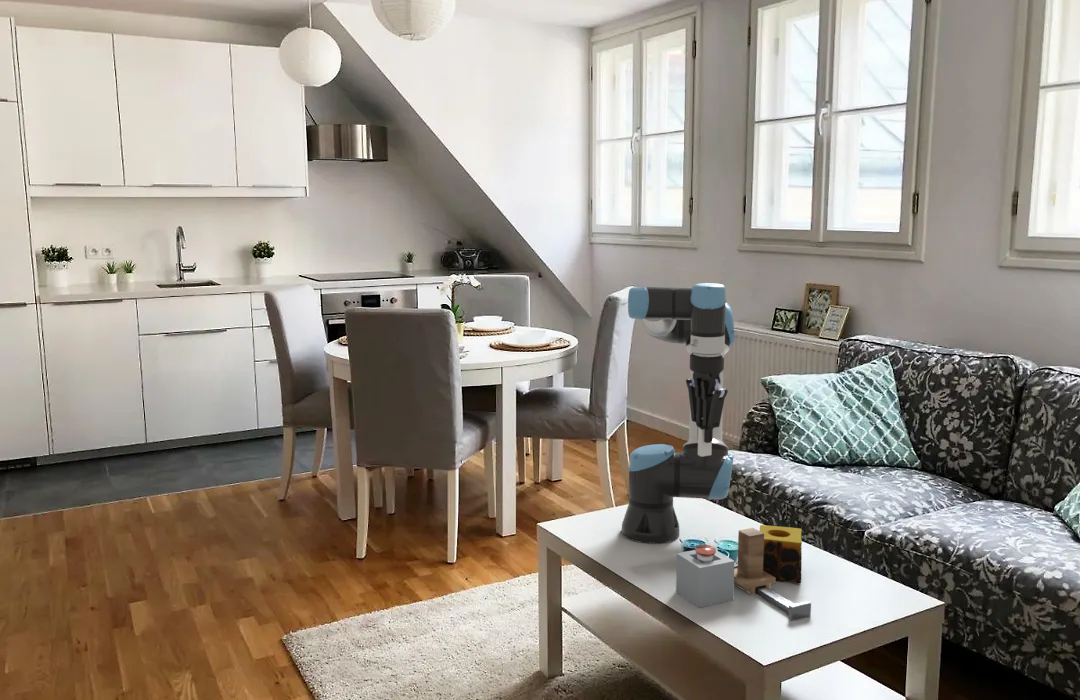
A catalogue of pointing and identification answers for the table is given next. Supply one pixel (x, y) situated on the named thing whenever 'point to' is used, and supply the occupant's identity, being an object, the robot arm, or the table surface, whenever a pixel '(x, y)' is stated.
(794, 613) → the rail
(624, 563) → the table surface
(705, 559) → the plunger
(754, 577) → the carriage
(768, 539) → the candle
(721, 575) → the housing
